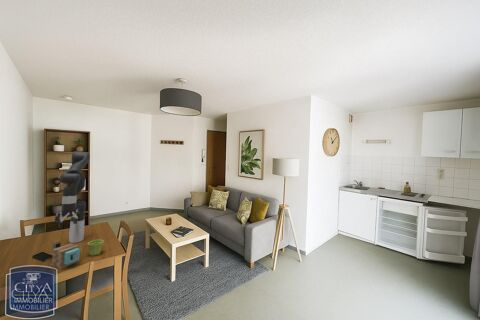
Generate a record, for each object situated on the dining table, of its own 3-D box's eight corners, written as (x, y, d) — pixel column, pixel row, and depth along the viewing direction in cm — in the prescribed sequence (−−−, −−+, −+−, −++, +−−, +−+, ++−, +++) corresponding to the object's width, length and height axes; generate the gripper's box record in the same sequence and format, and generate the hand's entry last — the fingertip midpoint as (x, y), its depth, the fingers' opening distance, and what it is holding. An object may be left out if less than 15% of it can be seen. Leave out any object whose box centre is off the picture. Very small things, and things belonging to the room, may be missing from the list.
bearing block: (52, 266, 125) (53, 249, 125) (70, 259, 134) (71, 243, 134) (60, 269, 122) (61, 251, 122) (77, 261, 132) (78, 245, 132)
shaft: (52, 252, 131) (53, 243, 131) (57, 250, 133) (57, 241, 133) (73, 259, 124) (73, 249, 124) (77, 257, 126) (78, 247, 126)
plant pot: (92, 250, 147) (93, 239, 148) (105, 251, 148) (106, 239, 148) (83, 256, 138) (84, 244, 138) (97, 257, 139) (98, 244, 139)
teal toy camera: (63, 263, 123) (64, 252, 123) (76, 258, 130) (76, 248, 130) (67, 264, 122) (67, 253, 122) (79, 259, 129) (79, 248, 129)
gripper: (76, 199, 142) (75, 222, 142) (53, 203, 129) (51, 228, 129) (84, 200, 140) (82, 223, 140) (60, 204, 127) (59, 229, 126)
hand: (67, 225), depth 134 cm, fingers open, 8 cm apart
